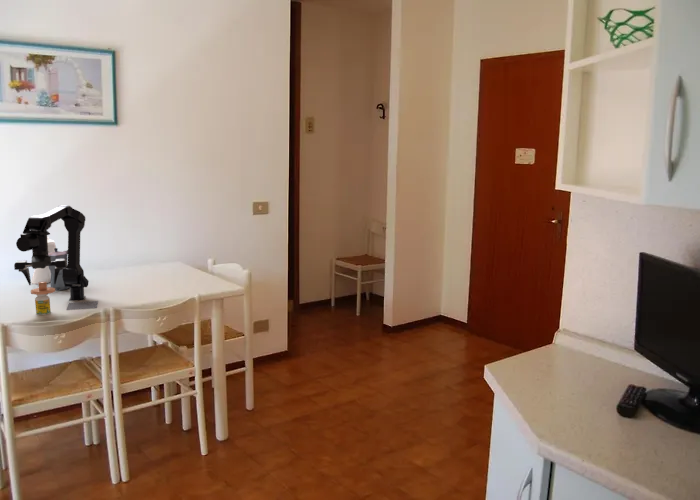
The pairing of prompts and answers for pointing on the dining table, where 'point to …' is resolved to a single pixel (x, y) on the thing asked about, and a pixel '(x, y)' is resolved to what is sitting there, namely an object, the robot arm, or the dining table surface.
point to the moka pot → (59, 282)
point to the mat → (82, 305)
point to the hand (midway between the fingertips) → (42, 284)
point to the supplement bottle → (42, 304)
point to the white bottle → (44, 273)
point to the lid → (42, 289)
